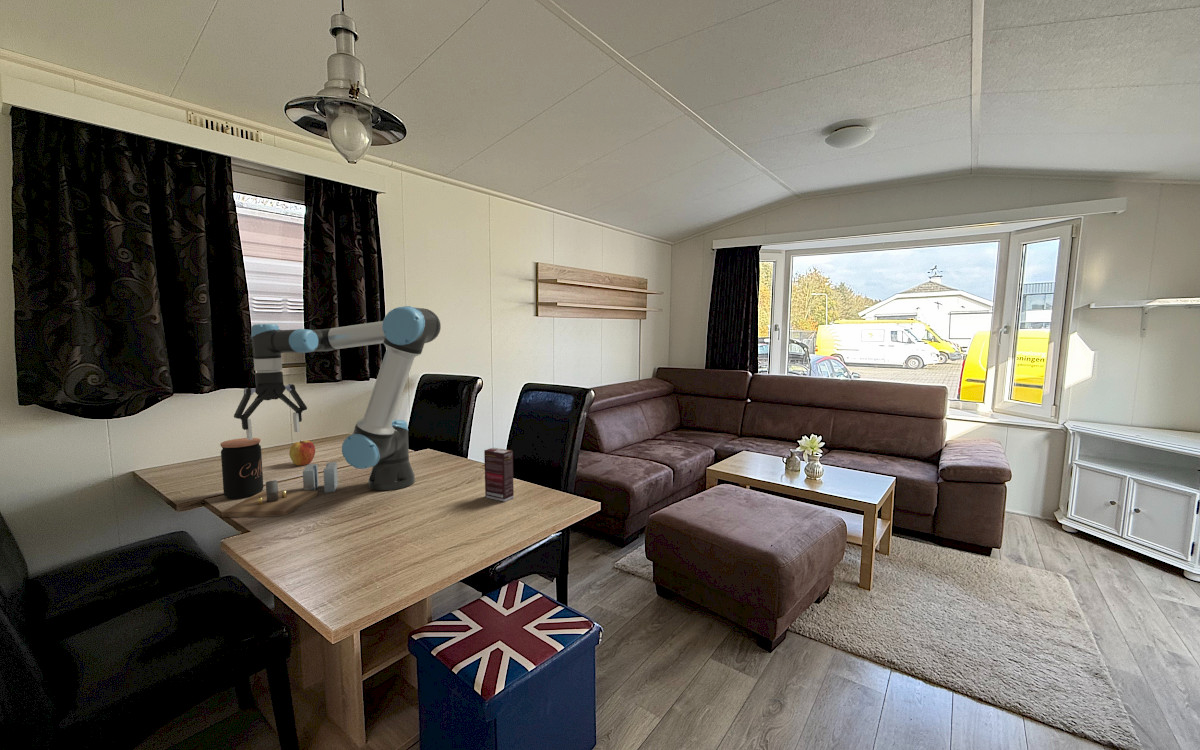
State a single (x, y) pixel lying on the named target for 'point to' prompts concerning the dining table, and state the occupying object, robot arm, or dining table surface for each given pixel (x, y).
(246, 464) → the coffee jar
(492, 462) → the supplement box
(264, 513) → the post base
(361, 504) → the dining table surface
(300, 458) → the apple
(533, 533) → the dining table surface
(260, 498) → the dowel pins
